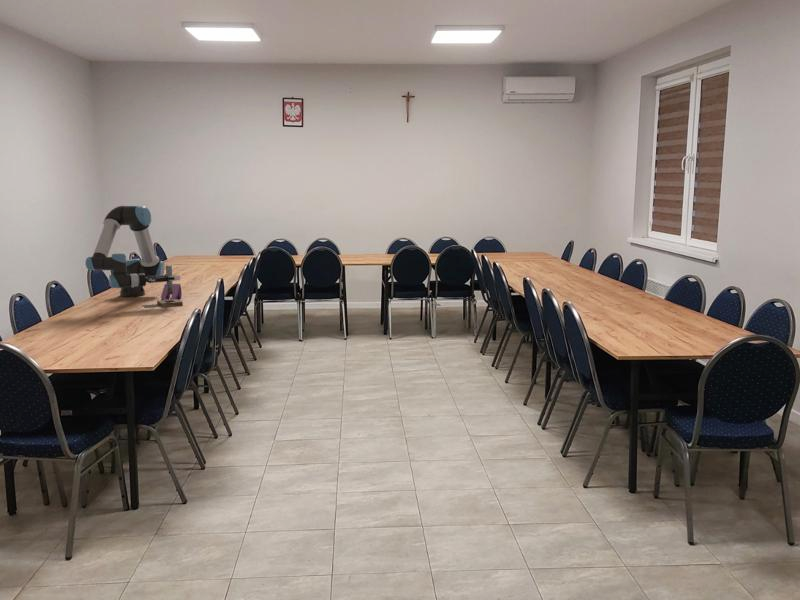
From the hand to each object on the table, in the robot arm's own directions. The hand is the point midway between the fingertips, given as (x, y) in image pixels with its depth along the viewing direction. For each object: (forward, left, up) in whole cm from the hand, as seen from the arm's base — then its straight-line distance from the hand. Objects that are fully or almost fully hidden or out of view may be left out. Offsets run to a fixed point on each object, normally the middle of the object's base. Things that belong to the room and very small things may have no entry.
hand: (178, 277), depth 433 cm
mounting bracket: (-18, -1, -17) cm, 25 cm away
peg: (0, -6, -10) cm, 11 cm away
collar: (0, -6, -16) cm, 17 cm away
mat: (-1, -17, -16) cm, 24 cm away
